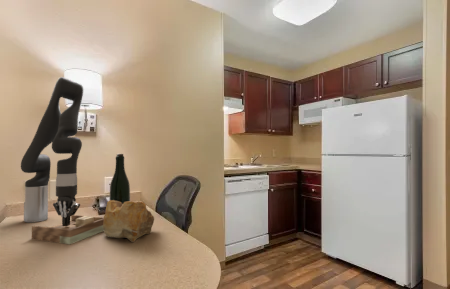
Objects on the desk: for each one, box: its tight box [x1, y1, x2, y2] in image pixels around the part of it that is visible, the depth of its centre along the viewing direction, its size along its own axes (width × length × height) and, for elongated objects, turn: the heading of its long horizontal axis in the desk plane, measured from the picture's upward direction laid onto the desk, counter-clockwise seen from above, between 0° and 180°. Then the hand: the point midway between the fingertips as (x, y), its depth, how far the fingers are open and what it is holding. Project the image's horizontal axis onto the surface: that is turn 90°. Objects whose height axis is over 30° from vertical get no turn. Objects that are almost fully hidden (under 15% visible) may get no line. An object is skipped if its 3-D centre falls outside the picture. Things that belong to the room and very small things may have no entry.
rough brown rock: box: [103, 200, 155, 243], centre depth 97 cm, size 23×17×15 cm
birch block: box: [76, 215, 95, 227], centre depth 98 cm, size 4×4×4 cm
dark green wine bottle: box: [108, 153, 131, 204], centre depth 131 cm, size 10×10×33 cm
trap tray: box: [31, 214, 104, 245], centre depth 100 cm, size 20×18×5 cm
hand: (66, 225), depth 101 cm, fingers closed
